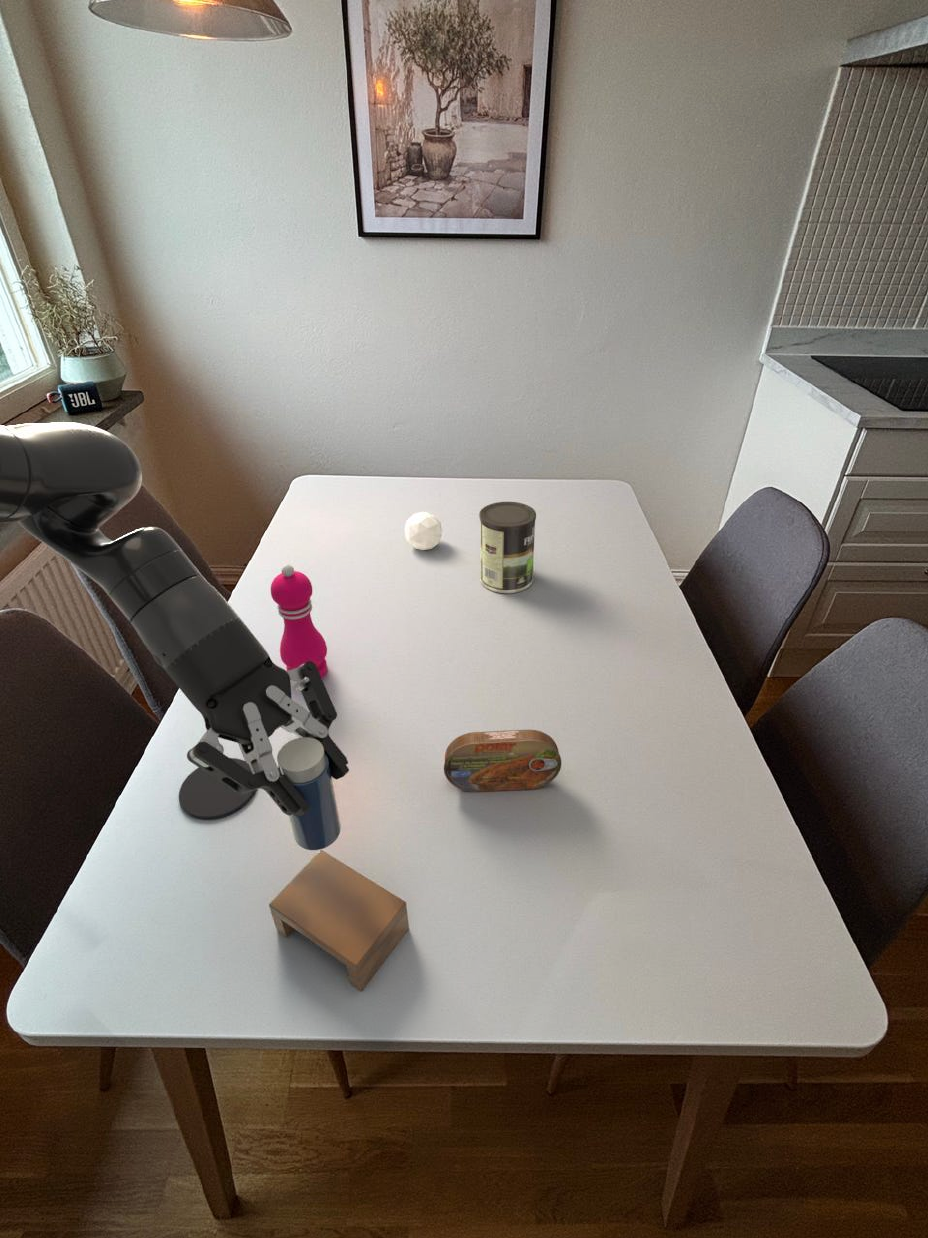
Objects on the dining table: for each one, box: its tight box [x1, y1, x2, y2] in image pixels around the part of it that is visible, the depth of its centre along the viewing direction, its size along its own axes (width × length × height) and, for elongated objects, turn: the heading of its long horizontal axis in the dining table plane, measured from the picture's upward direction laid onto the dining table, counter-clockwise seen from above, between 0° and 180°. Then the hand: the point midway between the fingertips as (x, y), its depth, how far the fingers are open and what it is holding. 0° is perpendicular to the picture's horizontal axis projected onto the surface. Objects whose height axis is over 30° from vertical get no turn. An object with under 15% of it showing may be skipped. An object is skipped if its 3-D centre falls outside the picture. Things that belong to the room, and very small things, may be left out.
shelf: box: [268, 849, 410, 992], centre depth 72 cm, size 8×12×5 cm, turn 57°
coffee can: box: [478, 501, 537, 594], centre depth 127 cm, size 10×10×14 cm
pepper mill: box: [270, 564, 328, 679], centre depth 104 cm, size 7×7×20 cm
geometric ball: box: [404, 511, 443, 551], centre depth 140 cm, size 8×8×8 cm
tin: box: [443, 729, 562, 793], centre depth 88 cm, size 15×3×8 cm, turn 92°
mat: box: [178, 757, 257, 821], centre depth 90 cm, size 10×10×1 cm
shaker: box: [276, 737, 342, 851], centre depth 62 cm, size 4×4×10 cm
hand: (323, 792), depth 60 cm, fingers closed on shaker, 4 cm apart
